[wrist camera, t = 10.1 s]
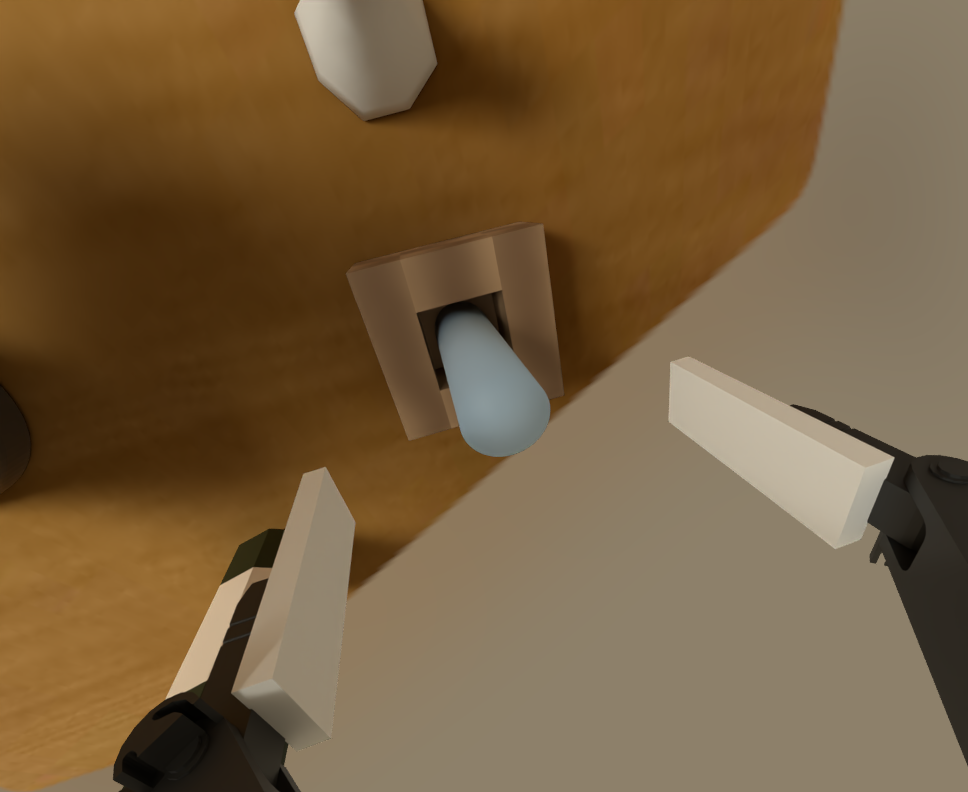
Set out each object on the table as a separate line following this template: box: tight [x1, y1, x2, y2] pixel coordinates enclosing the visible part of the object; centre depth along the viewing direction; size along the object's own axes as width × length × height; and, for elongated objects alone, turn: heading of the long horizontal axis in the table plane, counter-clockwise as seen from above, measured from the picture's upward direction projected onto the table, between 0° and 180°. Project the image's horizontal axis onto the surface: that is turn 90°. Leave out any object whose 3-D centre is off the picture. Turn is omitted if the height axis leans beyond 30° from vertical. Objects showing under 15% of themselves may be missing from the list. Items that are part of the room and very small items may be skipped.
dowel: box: [435, 301, 550, 457], centre depth 22 cm, size 4×4×14 cm
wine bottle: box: [123, 529, 288, 788], centre depth 23 cm, size 8×8×30 cm
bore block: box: [346, 222, 564, 441], centre depth 27 cm, size 12×12×5 cm
